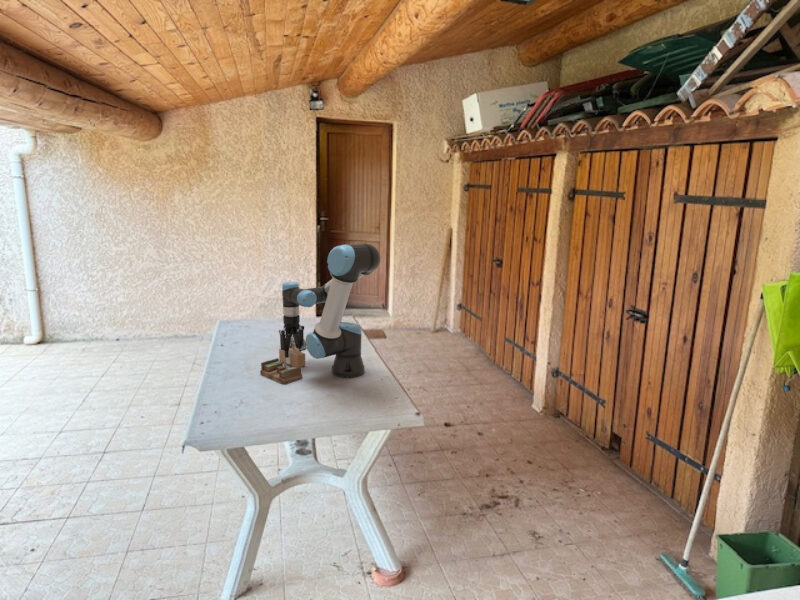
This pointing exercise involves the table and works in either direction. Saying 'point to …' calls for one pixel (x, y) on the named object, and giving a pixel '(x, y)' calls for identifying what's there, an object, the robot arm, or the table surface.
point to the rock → (292, 344)
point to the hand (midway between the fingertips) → (292, 362)
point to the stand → (280, 372)
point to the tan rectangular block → (293, 358)
